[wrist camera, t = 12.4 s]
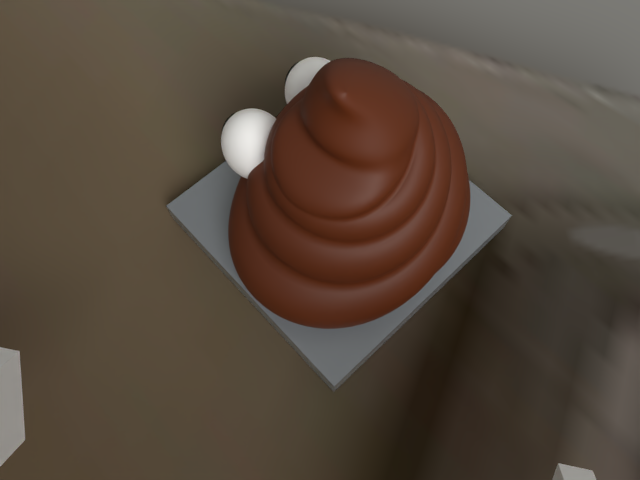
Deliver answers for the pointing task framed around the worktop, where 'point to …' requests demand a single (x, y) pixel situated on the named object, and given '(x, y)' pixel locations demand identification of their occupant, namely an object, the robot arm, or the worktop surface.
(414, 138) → the poop emoji
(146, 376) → the worktop surface
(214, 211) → the board
